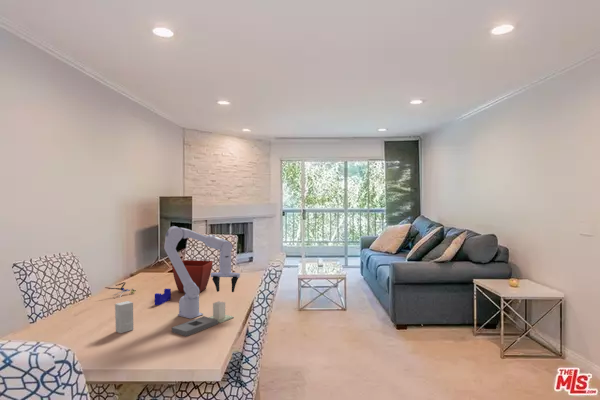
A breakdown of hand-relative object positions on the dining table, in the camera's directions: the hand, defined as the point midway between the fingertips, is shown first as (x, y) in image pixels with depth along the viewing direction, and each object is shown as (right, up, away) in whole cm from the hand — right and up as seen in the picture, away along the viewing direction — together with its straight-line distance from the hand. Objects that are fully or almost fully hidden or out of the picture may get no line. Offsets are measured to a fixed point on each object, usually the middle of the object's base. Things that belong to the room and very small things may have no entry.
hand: (225, 291), depth 194 cm
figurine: (-65, -10, +30) cm, 73 cm away
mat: (0, -10, -12) cm, 15 cm away
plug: (-1, -10, -12) cm, 15 cm away
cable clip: (-38, -10, +17) cm, 43 cm away
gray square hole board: (-9, -10, -24) cm, 28 cm away
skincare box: (-38, -11, -28) cm, 48 cm away
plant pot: (-28, -9, +42) cm, 51 cm away
